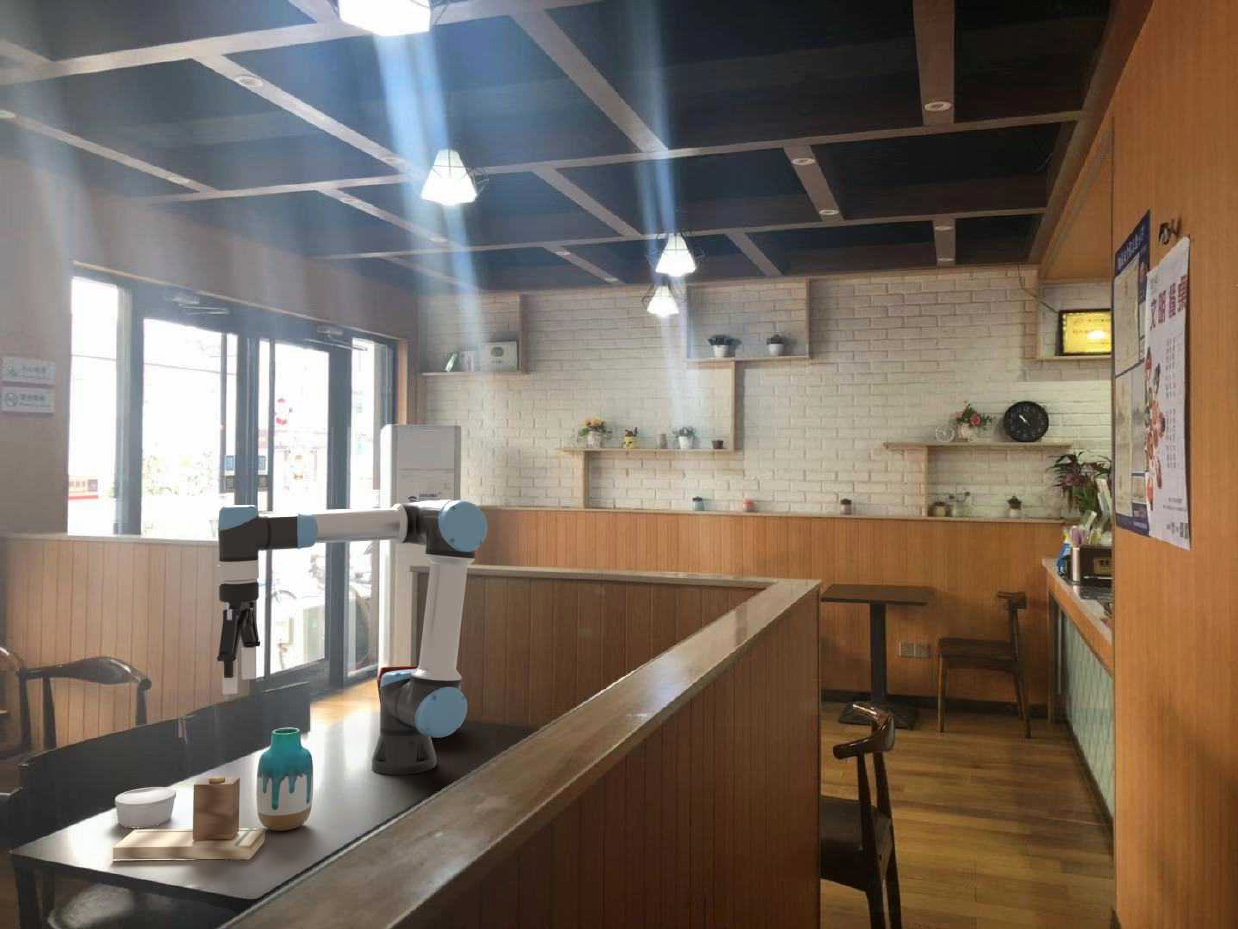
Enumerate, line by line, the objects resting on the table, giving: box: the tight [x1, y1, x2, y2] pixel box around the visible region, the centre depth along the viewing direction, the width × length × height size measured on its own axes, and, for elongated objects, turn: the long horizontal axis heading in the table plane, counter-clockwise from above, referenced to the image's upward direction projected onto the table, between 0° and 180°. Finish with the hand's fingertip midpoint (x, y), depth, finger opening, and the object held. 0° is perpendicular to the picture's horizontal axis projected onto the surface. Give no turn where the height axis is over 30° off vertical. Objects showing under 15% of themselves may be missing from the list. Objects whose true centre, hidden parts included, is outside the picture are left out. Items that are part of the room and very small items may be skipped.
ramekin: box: [114, 786, 177, 829], centre depth 196 cm, size 11×11×5 cm
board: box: [112, 827, 266, 861], centre depth 180 cm, size 24×9×3 cm, turn 94°
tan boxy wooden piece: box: [192, 775, 241, 840], centre depth 182 cm, size 7×8×11 cm
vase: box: [255, 727, 314, 832], centre depth 192 cm, size 11×11×19 cm
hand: (239, 686), depth 198 cm, fingers open, 13 cm apart
